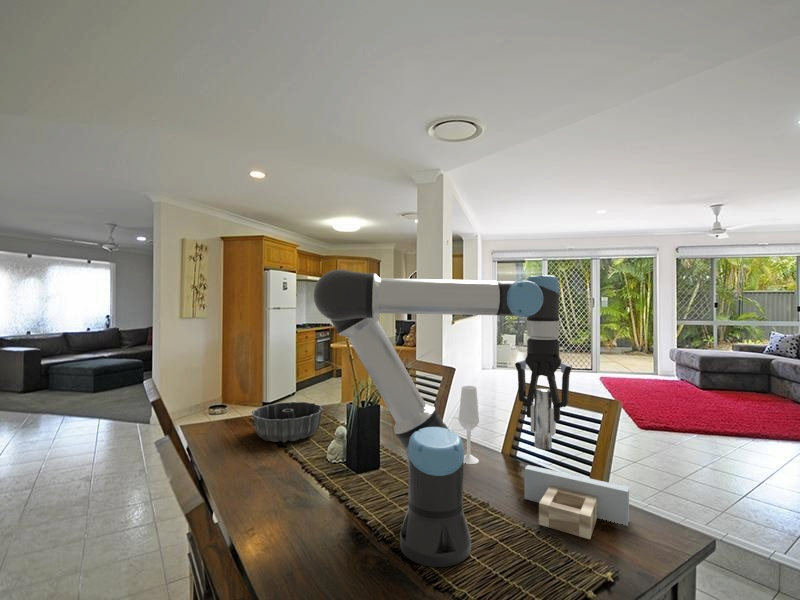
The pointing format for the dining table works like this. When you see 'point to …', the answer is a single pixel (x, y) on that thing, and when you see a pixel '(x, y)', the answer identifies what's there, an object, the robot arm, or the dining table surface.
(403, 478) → the dining table surface
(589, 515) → the square wooden frame
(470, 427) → the champagne flute
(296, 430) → the bundt pan
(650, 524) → the dining table surface
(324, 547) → the dining table surface
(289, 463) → the dining table surface
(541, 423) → the metal peg
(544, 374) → the robot arm
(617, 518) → the wall
